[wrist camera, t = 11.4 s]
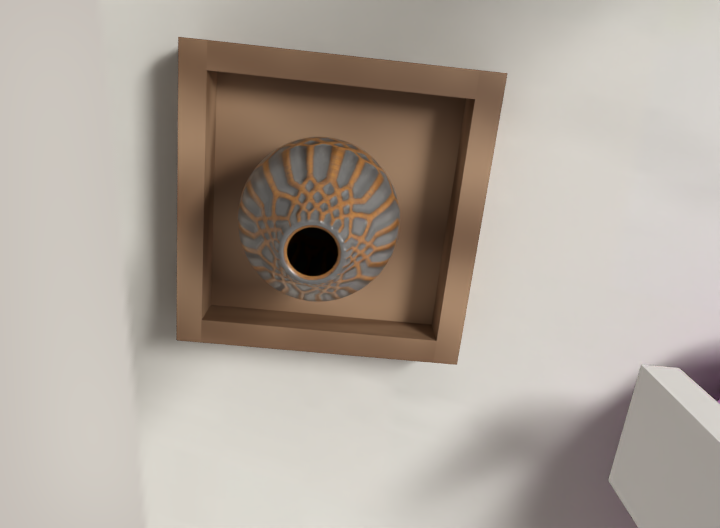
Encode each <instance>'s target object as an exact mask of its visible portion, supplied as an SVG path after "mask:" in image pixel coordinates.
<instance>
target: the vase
mask: <svg viewBox="0 0 720 528" xmlns="http://www.w3.org/2000/svg"><path fill="white" fill-rule="evenodd" d="M399 228H400V210H399V204H398V199H397V195H396V192H395V189H394V187H393V185H392V183H391V181H390V179H389V177H388V175H387V174H386V172H385V171H384V169H383V168H382V167H381V166H380V164H379V163H378V162H377V161H376V160H375V159H374V158H373V157H372V156H370V155H369V154H368V153H367V152H365V151H364V150H362V149H361V148H359V147H357V146H355V145H353V144H351V143H349V142H346V141H343V140H340V139H336V138H330V137H308V138H303V139H298V140H295V141H292V142H289V143H287V144H285V145H283V146H281V147H279V148H278V149H276V150H274V151H273V152H272V153H270V154H269V155H268V156H266V157H265V158H264V159H263V160H262V161H261V162H260V163H259V164H258V165H257V167H256V168H255V169H254V171H253V172H252V173H251V175H250V177H249V178H248V180H247V182H246V184H245V186H244V189H243V191H242V194H241V198H240V202H239V208H238V229H239V235H240V240H241V244H242V247H243V249H244V252H245V254H246V256H247V258H248V260H249V262H250V263H251V265H252V266H253V268H254V269H255V270H256V272H257V273H258V274H259V275H260V276H261V277H262V278H263V279H264V280H265V281H266V282H267V283H268V284H269V285H271V286H272V287H273V288H275V289H276V290H278V291H280V292H282V293H284V294H286V295H288V296H291V297H294V298H297V299H301V300H306V301H315V302H322V301H332V300H337V299H340V298H344V297H346V296H349V295H351V294H353V293H355V292H357V291H359V290H361V289H362V288H364V287H365V286H367V285H368V284H369V283H370V282H371V281H373V280H374V279H375V278H376V277H377V276H378V275H379V274H380V272H381V271H382V270H383V269H384V267H385V266H386V264H387V263H388V261H389V259H390V258H391V256H392V253H393V251H394V249H395V246H396V243H397V239H398V235H399Z"/></svg>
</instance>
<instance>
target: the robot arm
mask: <svg viewBox="0 0 720 528" xmlns="http://www.w3.org/2000/svg"><path fill="white" fill-rule="evenodd" d="M608 481H609V482H610V484H611V486H612V487H613V489H614V490H615V492H616V494H617V495H618V497H619V498H620V500H621V501H622V503H623V505H624V506H625V508H626V509H627V511H628V512H629V514H630V516H631V517H632V519H633V520H634V522H635V523H636V525H637V527H638V528H720V404H719V403H718V402H717V401H716V400H714V399H713V398H712V397H711V396H710V395H709V394H708V393H707V392H705V391H704V390H703V389H702V388H701V387H700V386H699V385H698V384H696V383H695V382H694V381H693V380H692V379H691V378H690V377H689V376H688V375H686V374H685V373H684V372H683V371H682V370H681V369H680V368H674V367H663V366H652V365H641V368H640V371H639V375H638V378H637V382H636V385H635V389H634V392H633V396H632V399H631V403H630V406H629V410H628V413H627V416H626V420H625V423H624V427H623V430H622V434H621V437H620V441H619V444H618V448H617V451H616V455H615V458H614V462H613V465H612V469H611V472H610V476H609V479H608Z"/></svg>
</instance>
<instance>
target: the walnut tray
mask: <svg viewBox="0 0 720 528" xmlns="http://www.w3.org/2000/svg"><path fill="white" fill-rule="evenodd" d="M506 78H507V73H499V72H490V71H481V70H472V69H463V68H454V67H445V66H436V65H427V64H418V63H409V62H400V61H391V60H382V59H373V58H364V57H355V56H346V55H337V54H328V53H319V52H310V51H301V50H292V49H283V48H274V47H265V46H256V45H247V44H238V43H229V42H220V41H211V40H202V39H193V38H184V37H178V184H177V336H176V340H180V341H192V342H203V343H214V344H226V345H237V346H249V347H260V348H272V349H283V350H295V351H306V352H318V353H329V354H341V355H352V356H364V357H375V358H386V359H398V360H409V361H421V362H432V363H444V364H455V365H457V361H458V355H459V349H460V343H461V338H462V332H463V326H464V320H465V315H466V309H467V303H468V297H469V292H470V286H471V280H472V274H473V268H474V263H475V257H476V251H477V245H478V240H479V234H480V228H481V222H482V217H483V211H484V205H485V199H486V193H487V188H488V182H489V176H490V170H491V165H492V159H493V153H494V147H495V142H496V136H497V130H498V124H499V118H500V113H501V107H502V101H503V95H504V90H505V84H506ZM308 137H330V138H336V139H340V140H343V141H346V142H349V143H351V144H353V145H355V146H357V147H359V148H361V149H362V150H364V151H365V152H367V153H368V154H369V155H370V156H372V157H373V158H374V159H375V160H376V161H377V162H378V163H379V164H380V166H381V167H382V168H383V169H384V171H385V172H386V174H387V175H388V177H389V179H390V181H391V183H392V185H393V187H394V189H395V192H396V195H397V199H398V204H399V210H400V228H399V235H398V239H397V243H396V246H395V249H394V251H393V253H392V256H391V258H390V259H389V261H388V263H387V264H386V266H385V267H384V269H383V270H382V271H381V272H380V274H379V275H378V276H377V277H376V278H375V279H374V280H373V281H371V282H370V283H369V284H368V285H367V286H365V287H364V288H362V289H361V290H359V291H357V292H355V293H353V294H351V295H349V296H346V297H344V298H340V299H337V300H332V301H322V302H315V301H306V300H301V299H297V298H294V297H291V296H288V295H286V294H284V293H282V292H280V291H278V290H276V289H275V288H273V287H272V286H271V285H269V284H268V283H267V282H266V281H265V280H264V279H263V278H262V277H261V276H260V275H259V274H258V273H257V272H256V270H255V269H254V268H253V266H252V265H251V263H250V262H249V260H248V258H247V256H246V254H245V252H244V249H243V247H242V244H241V240H240V235H239V229H238V208H239V202H240V198H241V194H242V191H243V189H244V186H245V184H246V182H247V180H248V178H249V177H250V175H251V173H252V172H253V171H254V169H255V168H256V167H257V165H258V164H259V163H260V162H261V161H262V160H263V159H264V158H265V157H266V156H268V155H269V154H270V153H272V152H273V151H274V150H276V149H278V148H279V147H281V146H283V145H285V144H287V143H289V142H292V141H295V140H298V139H303V138H308Z"/></svg>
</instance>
